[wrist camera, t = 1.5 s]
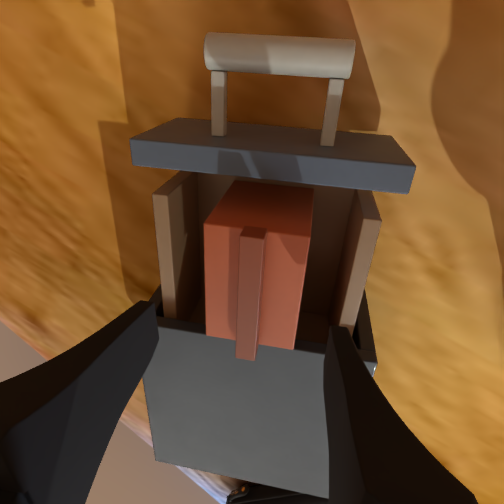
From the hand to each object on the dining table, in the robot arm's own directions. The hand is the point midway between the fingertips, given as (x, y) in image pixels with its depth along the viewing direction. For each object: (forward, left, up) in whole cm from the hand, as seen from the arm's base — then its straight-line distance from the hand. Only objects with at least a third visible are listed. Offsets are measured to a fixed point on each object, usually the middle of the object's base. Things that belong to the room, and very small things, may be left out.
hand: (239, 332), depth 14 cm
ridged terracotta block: (0, 0, -9) cm, 9 cm away
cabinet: (+4, +9, -11) cm, 15 cm away
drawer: (-1, -2, -10) cm, 10 cm away
